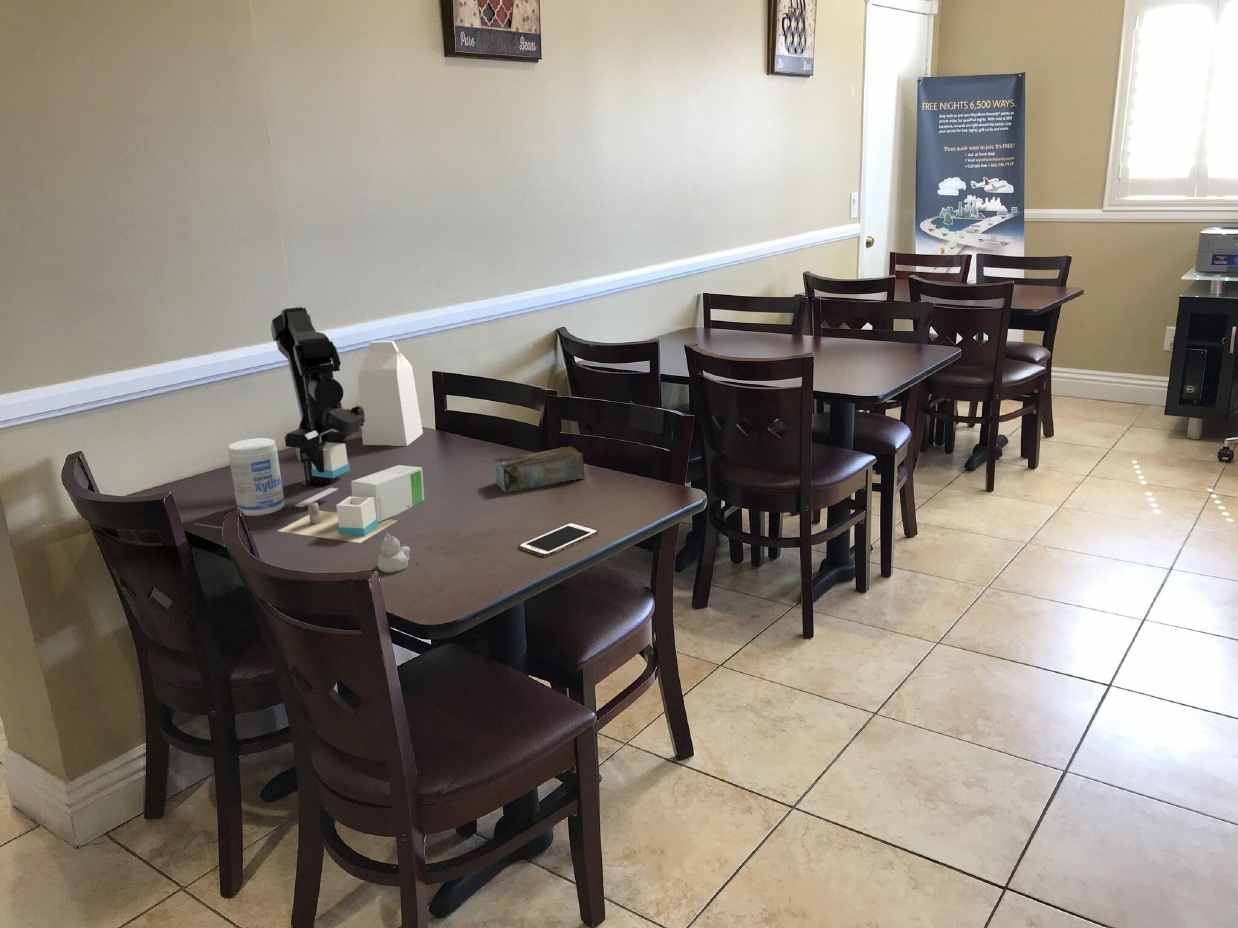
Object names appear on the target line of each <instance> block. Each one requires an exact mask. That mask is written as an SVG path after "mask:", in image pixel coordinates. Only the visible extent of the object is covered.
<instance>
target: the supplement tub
mask: <svg viewBox="0 0 1238 928" xmlns="http://www.w3.org/2000/svg"><path fill="white" fill-rule="evenodd" d="M227 449H228V456H229V457H228V458H229V460H228V461H229V465H230V472H231V477H232V482H233V489H234V495H235V501H236V507H237V510H238V509H240V510H242V511H243V513H244V515H243V516H247V517H250V516H255V517H256V516H264V515H269V514H273V513H275V512H278V511H280V510H282V509H283V508H284V506H285V495H284V489H283V481H282V477H281V467H280V463H279V462H280V461H279V454H278V450H277V446H276V441H275V440H274V439H273V438H267V437H256V438H248V439H242V440H238V441H235V442H233V443H231V444H229V446H228V448H227Z"/></svg>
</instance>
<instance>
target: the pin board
mask: <svg viewBox="0 0 1238 928" xmlns="http://www.w3.org/2000/svg"><path fill="white" fill-rule="evenodd" d="M307 509H308V510H307V511H308V514H307V515H306V516H304V517H301V518H300V519H298V520H295V521H294V522H292V523H290V524H288V525H286V526H284V527H283V528H280V529H278V530H277V532H279V533H285V534H295V535H301V536H308V537H314V538H323V539H329V540H338V541H342V542H343V541H344V542H351V543H358V544H361V543H363V542H364V541H366V540H368V539H369V538H371V537H373V536H375V535H376V534H378V533H379V532H382V531H383V530H384V529H387V528H389V527H390V526H392V525H393V524H394V523H397V521H398V520H396V519H390V518H388V519H385V520H383V521H380V522H378V525H379V526H377V527H376V528H375V529H373V530H372V531H371V532H370V533H368V534H367V535H366V536H353V535H339V533H338V527H339V522H338V515H337V512H333V511H326V510H325V511H324V510H320V507H319V503H318V502H316V501H314V502H312V503H309V504H308V505H307Z"/></svg>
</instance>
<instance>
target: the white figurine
mask: <svg viewBox="0 0 1238 928" xmlns="http://www.w3.org/2000/svg"><path fill="white" fill-rule="evenodd" d="M379 550H380V551H381V553H380V554H379V557H378V562H377V565H378V569H379V571H381V572H383V573H387V574H388V573H389V574H390V573H391V574H392V573H395V572H401V571H403V570H405V569H407V568H408V567H409V566H408V565H409V563H408V562H409V561H410V551H411V549H410V546H406V545H405V546H404V545H403V546H401V543H400V540H399V539H397V538H396V537H395V536H393V535H391V534H389V532H388V531H386V535H385V537H384V538H383V541H382V542H381V545H380V549H379Z"/></svg>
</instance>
